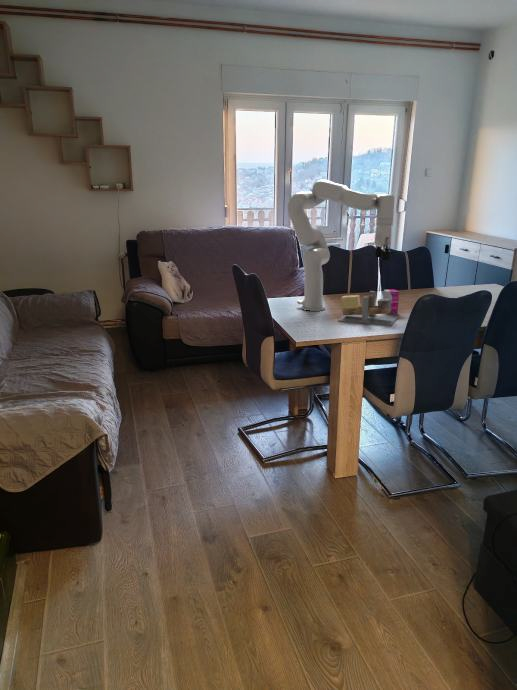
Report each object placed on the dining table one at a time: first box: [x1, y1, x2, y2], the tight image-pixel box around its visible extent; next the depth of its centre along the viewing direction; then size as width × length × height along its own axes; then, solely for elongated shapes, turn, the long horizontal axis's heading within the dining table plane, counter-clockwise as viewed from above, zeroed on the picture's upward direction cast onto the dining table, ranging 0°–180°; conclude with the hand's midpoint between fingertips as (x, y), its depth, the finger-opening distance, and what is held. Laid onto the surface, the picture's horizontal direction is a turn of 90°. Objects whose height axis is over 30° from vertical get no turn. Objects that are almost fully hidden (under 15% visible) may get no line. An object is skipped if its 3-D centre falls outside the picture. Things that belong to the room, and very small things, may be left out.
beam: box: [342, 295, 391, 316], centre depth 245 cm, size 22×6×8 cm, turn 66°
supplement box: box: [382, 289, 400, 315], centre depth 258 cm, size 6×6×12 cm
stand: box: [337, 290, 398, 327], centre depth 245 cm, size 25×17×13 cm
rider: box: [340, 294, 361, 313], centre depth 248 cm, size 8×4×7 cm, turn 66°
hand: (381, 258), depth 245 cm, fingers open, 9 cm apart
